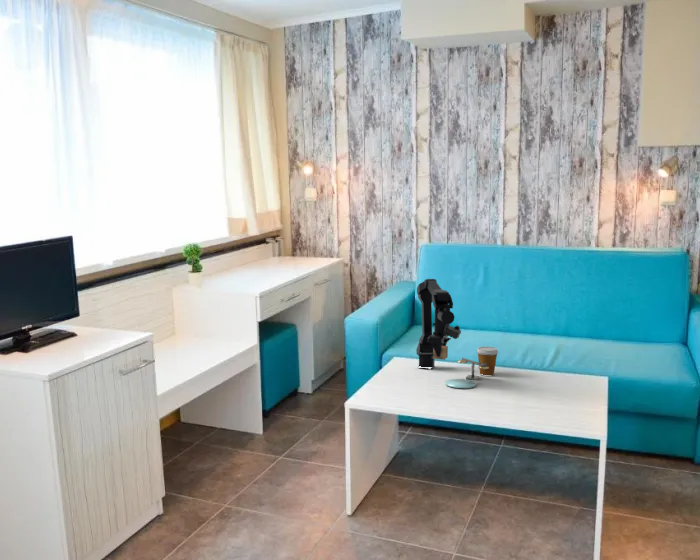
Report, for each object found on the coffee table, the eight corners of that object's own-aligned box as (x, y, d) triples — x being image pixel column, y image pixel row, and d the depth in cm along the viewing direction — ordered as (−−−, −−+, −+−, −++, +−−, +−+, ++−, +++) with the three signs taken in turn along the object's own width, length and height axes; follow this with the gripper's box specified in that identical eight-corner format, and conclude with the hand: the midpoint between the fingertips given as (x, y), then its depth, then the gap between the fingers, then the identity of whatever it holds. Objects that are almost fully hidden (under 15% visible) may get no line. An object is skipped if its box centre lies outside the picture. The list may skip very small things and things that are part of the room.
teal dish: (441, 387, 284) (441, 384, 284) (450, 379, 296) (450, 377, 296) (471, 390, 279) (471, 388, 279) (479, 383, 291) (479, 380, 291)
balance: (455, 378, 299) (456, 358, 298) (458, 375, 304) (459, 356, 303) (487, 381, 293) (487, 361, 292) (489, 378, 298) (490, 359, 297)
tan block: (433, 358, 292) (433, 347, 292) (436, 356, 297) (436, 345, 296) (444, 359, 290) (444, 348, 290) (447, 357, 295) (447, 346, 294)
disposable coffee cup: (499, 377, 301) (500, 350, 300) (478, 376, 301) (478, 350, 300) (495, 371, 311) (495, 346, 309) (474, 371, 311) (475, 346, 309)
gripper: (452, 325, 280) (452, 361, 282) (464, 318, 297) (464, 353, 298) (427, 323, 285) (426, 359, 286) (440, 316, 301) (440, 350, 303)
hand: (440, 355), depth 293 cm, fingers closed on tan block, 5 cm apart
